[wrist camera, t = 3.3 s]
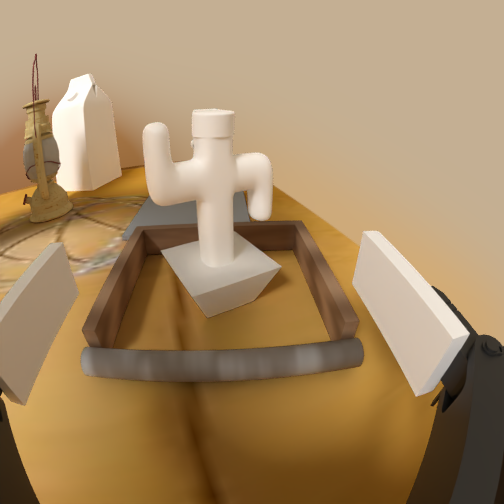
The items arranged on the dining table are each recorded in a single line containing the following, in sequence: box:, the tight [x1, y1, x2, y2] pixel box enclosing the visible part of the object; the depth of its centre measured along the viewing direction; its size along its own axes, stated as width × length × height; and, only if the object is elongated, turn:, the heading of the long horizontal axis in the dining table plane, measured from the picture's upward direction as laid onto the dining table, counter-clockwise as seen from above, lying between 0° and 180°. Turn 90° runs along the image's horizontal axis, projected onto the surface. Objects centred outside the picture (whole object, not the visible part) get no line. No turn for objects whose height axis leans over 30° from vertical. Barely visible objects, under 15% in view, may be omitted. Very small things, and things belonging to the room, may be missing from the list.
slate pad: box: [122, 191, 250, 240], centre depth 41 cm, size 16×16×1 cm
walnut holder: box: [81, 221, 364, 382], centre depth 23 cm, size 18×18×3 cm
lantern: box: [23, 54, 73, 222], centre depth 36 cm, size 12×10×30 cm
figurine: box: [143, 109, 282, 318], centre depth 21 cm, size 7×9×15 cm
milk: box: [52, 74, 122, 191], centre depth 53 cm, size 12×12×26 cm
